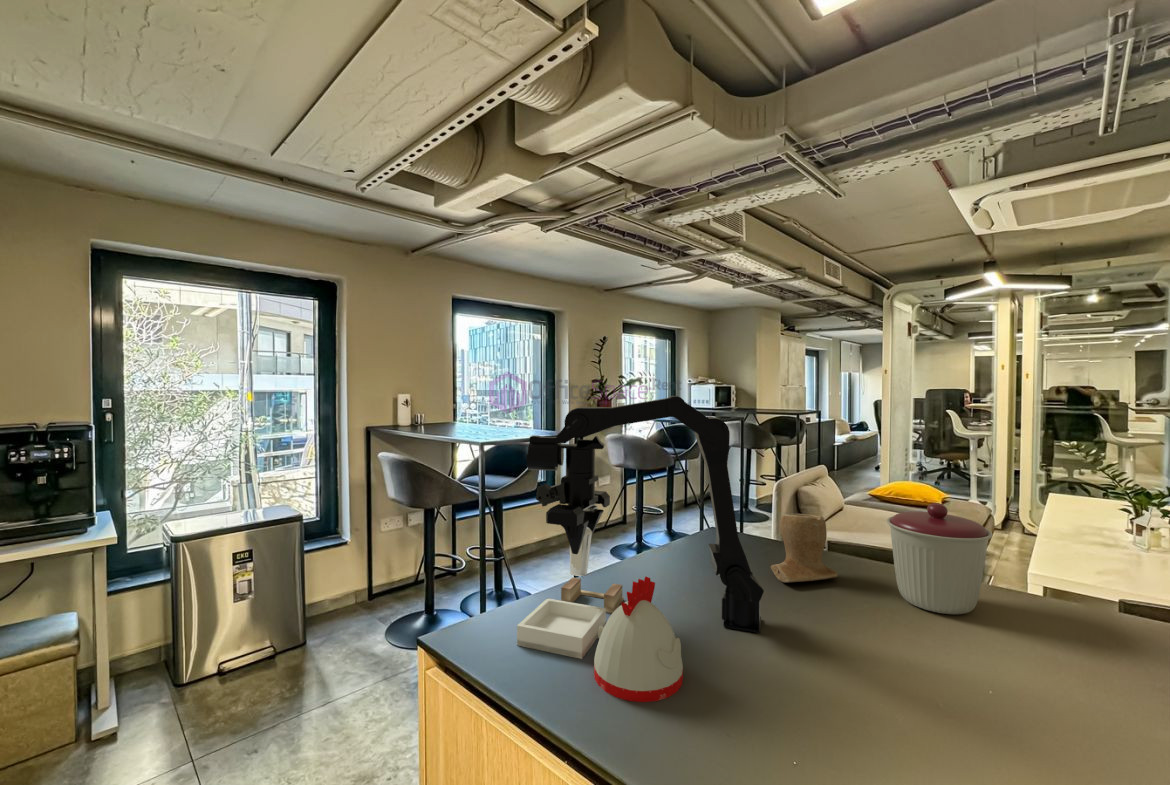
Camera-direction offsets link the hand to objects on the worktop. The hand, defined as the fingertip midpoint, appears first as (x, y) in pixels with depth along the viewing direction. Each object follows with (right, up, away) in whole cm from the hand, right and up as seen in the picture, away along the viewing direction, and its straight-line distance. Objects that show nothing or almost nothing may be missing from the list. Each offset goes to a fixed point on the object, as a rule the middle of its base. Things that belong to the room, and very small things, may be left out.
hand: (579, 550), depth 101 cm
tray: (-3, -13, -8) cm, 16 cm away
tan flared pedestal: (+52, -13, +21) cm, 58 cm away
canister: (+74, -13, +6) cm, 76 cm away
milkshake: (0, -5, -1) cm, 5 cm away
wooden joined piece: (+2, -13, +6) cm, 15 cm away
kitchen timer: (+9, -14, -20) cm, 26 cm away
